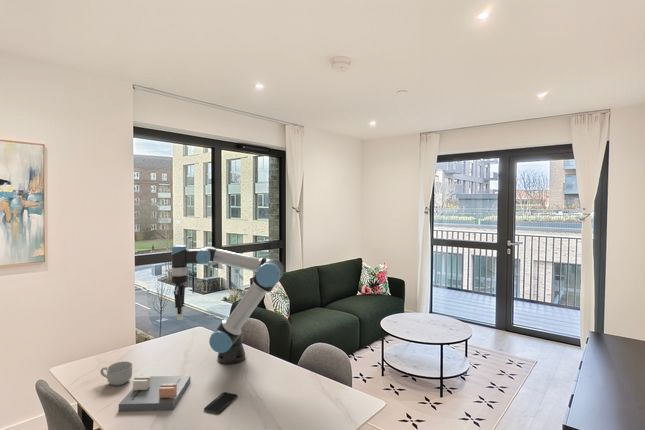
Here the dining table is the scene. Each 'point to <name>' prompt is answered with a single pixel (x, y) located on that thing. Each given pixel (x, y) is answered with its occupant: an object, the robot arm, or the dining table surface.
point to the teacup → (118, 373)
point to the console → (154, 395)
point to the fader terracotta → (167, 390)
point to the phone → (220, 403)
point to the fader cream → (141, 383)
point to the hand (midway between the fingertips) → (180, 319)
